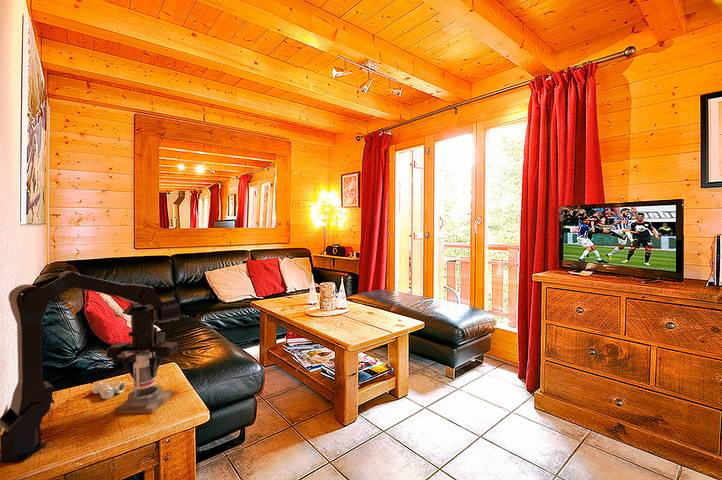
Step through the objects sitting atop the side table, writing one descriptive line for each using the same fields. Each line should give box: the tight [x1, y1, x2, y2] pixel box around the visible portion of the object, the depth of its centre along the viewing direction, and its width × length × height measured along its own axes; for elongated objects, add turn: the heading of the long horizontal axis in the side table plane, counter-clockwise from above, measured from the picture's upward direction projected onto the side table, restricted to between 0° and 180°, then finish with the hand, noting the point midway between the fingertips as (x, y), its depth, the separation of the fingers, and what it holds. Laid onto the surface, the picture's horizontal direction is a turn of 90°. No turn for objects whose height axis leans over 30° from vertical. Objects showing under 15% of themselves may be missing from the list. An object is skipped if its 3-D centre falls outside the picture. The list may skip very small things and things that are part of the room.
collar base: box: [113, 384, 174, 414], centre depth 104 cm, size 11×11×4 cm
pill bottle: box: [132, 353, 156, 390], centre depth 104 cm, size 5×5×10 cm
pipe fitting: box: [92, 381, 126, 400], centre depth 110 cm, size 8×4×7 cm
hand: (144, 377), depth 104 cm, fingers closed on pill bottle, 5 cm apart
